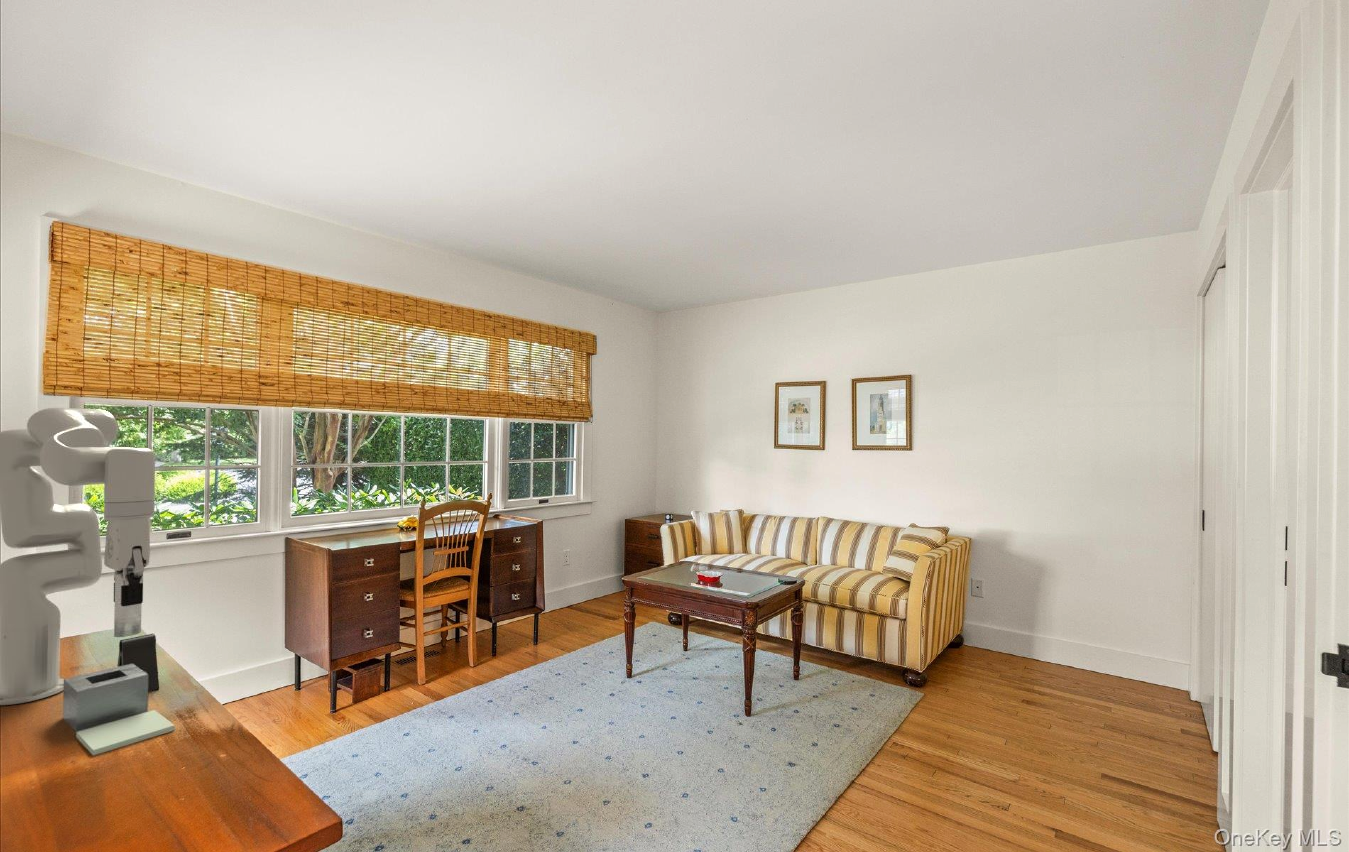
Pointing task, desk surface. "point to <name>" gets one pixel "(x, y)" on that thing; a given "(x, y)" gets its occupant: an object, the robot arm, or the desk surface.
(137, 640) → the phone stand
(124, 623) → the grey metal cylinder
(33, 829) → the desk surface
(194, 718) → the desk surface
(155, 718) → the mat
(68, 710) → the chuck block
